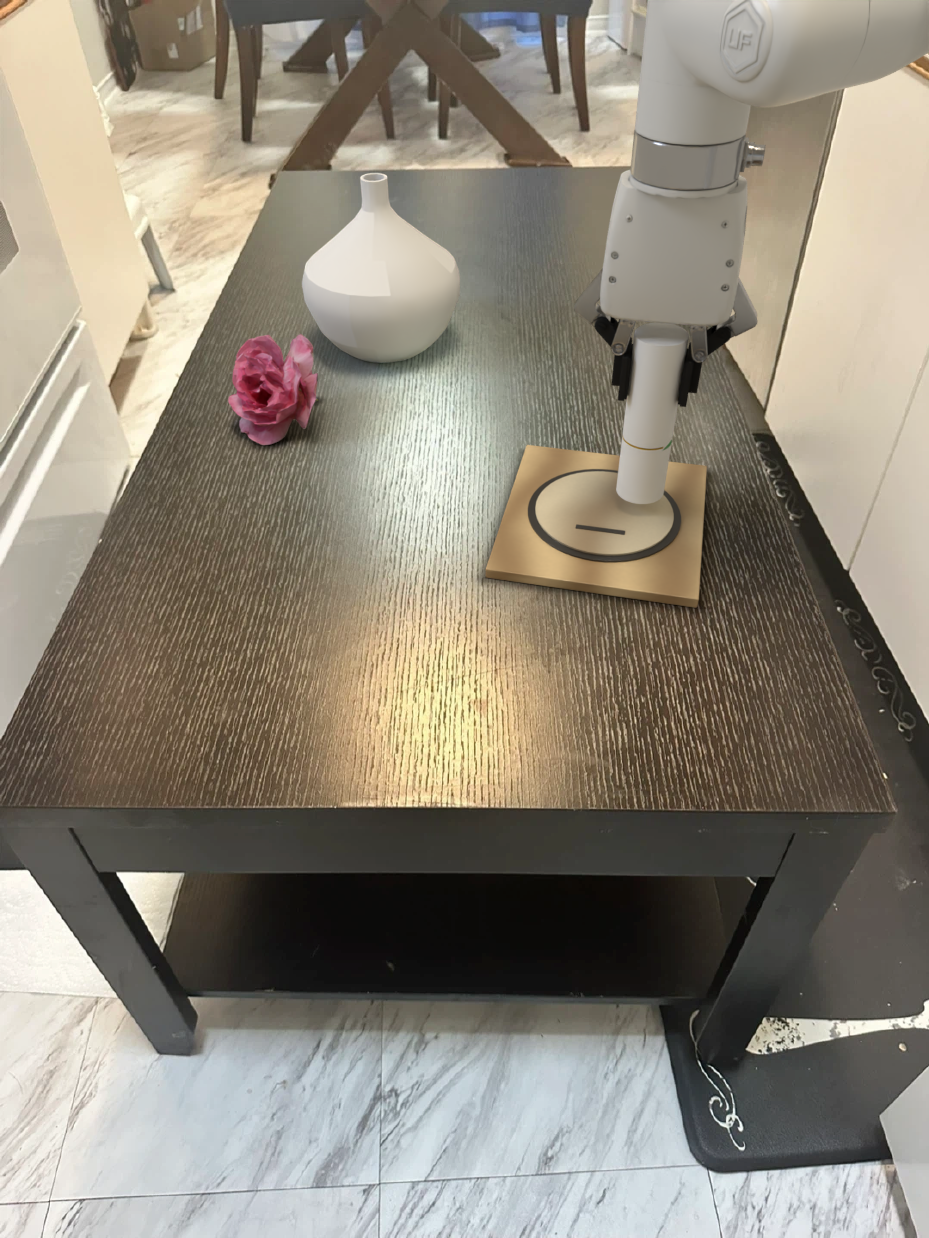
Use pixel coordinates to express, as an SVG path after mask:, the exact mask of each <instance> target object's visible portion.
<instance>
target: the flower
mask: <svg viewBox="0 0 929 1238" xmlns="http://www.w3.org/2000/svg"><path fill="white" fill-rule="evenodd" d="M289 348H290V349H289V351H288V352H287V354H286V356H285V359H284V354H283V351H282V348H281V347H280V346H279V344H278V343H277V342H276V341H275V340H274V338H273V337H272V336H271V335H270V334H265V335H259V336H256V337H251V338H248V339H246V341H244V343H243V344H242V346H241V347H239V349H238V351H237V352H236V355H235V357H236V358H235V360H234V366H233V370H232V384H233V386H234V389H235V390H236V393H233V394H231V395H229V396H228V399H227V401H228V402H227V403H228V404H229V406H230V407H231V409H232V411H233V412H235V415H237V416H239V417H240V420H239V424H238V426H239V429H240V433H245V434H246V435H247V437H248V439H250V440H251V441H253V442H255V443H257V444H259V445H260V446H269V445H272V444H275V443H277V442H280V441H282V440H283V439H284V438H285V437H286V435H287V433H288V431H289V428H290V426H291V424H292V422H293V421H296V422H297V424H298V425H299V426H300V427H301V428H302V429H304V430H305V429H307V427H308V426H309V421H310V417H311V414H312V413H311V412H312V410H313V407H314V404H315V402H316V401H319V399H318V398H317V390H318V389H317V388H318V382H319V381H318V380H319V373H318V372H316V373H313V368H314V364H315V363H314V362H315V358H314V356H315V355H314V346H313V344H312V342H311V341H310V340H309V339H308V338H307V337H306V336H305V335H303V334H302V333H299V334H297V335H296V337H295V338H292V340H291V342H290V345H289Z"/></svg>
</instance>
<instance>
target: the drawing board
mask: <svg viewBox="0 0 929 1238" xmlns="http://www.w3.org/2000/svg"><path fill="white" fill-rule="evenodd" d="M619 461H620V455H619V454H608V453H602V452H601V453H600V452H594V451H593V452H592V451H583V450H575V449H567V448H559V447H558V448H557V447H550V446H549V447H548V446H542V445H541V446H540V445H532V444H526V446H525V449H524V450H523V454H522V458H521V460H520V463H519V467H518V469H517V470H518V471H517V472H516V476H515V478H514V481H513V484H512V488H511V491H510V494H509V497H508V500H507V503H506V506H505V509H504V511H503V515H502V518H501V521H500V524H499V527H498V530H497V533H496V535H495V540H494V543H493V545H492V548H491V552H490V555H489V558H488V561H487V564H486V567H485V578H486V579H494V580H501V581H507V582H514V583H520V584H521V583H522V584H529V585H536V586H541V587H549V588H556V589H561V590H563V589H564V590H570V591H575V592H576V591H577V592H583V593H592V594H599V595H603V596H611V597H619V598H624V599H625V598H626V599H631V600H639V601H645V602H653V603H660V604H668V605H672V606H673V605H675V606H681V607H688V608H695V609H696V608H697V607H698V604H699V600H700V587H701V568H702V553H703V552H702V551H703V537H704V523H705V522H704V520H705V505H706V504H705V503H706V490H707V489H706V487H707V472H708V465H703V464H694V463H687V462H677V461H670V460H669V463H668V469H667V475H666V481H665V488H664V494H663V496H662V498H661V499H659V500H658V501H656V502H654V503H650V504H635V503H631V502H628V501H626V500H624V499H622V498H621V497H620V496H619V495H618V493H617V491H616V487H617V478H618V469H619Z"/></svg>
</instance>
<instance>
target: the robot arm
mask: <svg viewBox="0 0 929 1238" xmlns="http://www.w3.org/2000/svg"><path fill="white" fill-rule="evenodd" d="M646 2H647V3H646V11H645V12H646V14H645V23H644V33H643V44H642V53H641V61H640V62H641V63H640V71H639V83H638V90H637V91H638V93H637V102H636V111H635V113H636V114H635V120H634V121H635V122H634V130H633V139H632V150H631V159H630V169H628V170H625V171H623V172H621V173H620V176H619V180H618V183H617V187H616V189H615V194H614V198H613V203H612V206H611V212H610V216H609V217H610V219H609V223H608V229H607V236H606V242H605V248H604V256H603V257H604V258H603V264H602V268H601V270H600V271H599V272H598V273H597V274H596V275H595V277H594V278H593V279H592V281H591V282H590V283H589V284H588V285H587V286H586V287H585V289H584V290H583V291H582V293H581V294H580V295H579V296H578V297H577V299H576V300H575V303H574V306H573V311H574V313H575V314H576V315H578V317H580V318H581V319H582V320H584V321H585V322H586V323H587V324H589V325H590V326H592V327H594V329H595V331H596V333H597V334H599V336H600V337H601V338H602V339H603V340H604V342H606V344H607V345H608V347H610V351H611V353H612V354H613V365H612V366H613V367H612V374H611V383H610V384H611V386H613V387H618V395H617V401H619V402H624V401H626V400H627V395H628V386H629V378H630V369H631V361H632V349H633V337H632V334H633V331H634V328H635V326H636V324H637V322H642V323H666V324H674V325H678V326H680V325H681V326H689V337H690V342H688V346H687V351H686V356H685V360H684V366H683V372H682V379H681V385H680V391H679V397H678V406H679V407H680V408H687V403H688V398H689V394H698V390H699V389H698V388H699V383H700V379H701V372H702V366H703V362H705V361H706V360H707V359H708V357H709V356H710V355H712V353H714V352H715V351H716V350H718V349H719V348H721V347H722V346H724V345H725V344H726V343H728V342H729V341H730V339H732V338H734V337H735V338H736V337H738V336H740V335H742V334H744V333H746V332H747V331H750V330H751V329H752V330H753V328H755V327H756V326H757V325H758V321H759V318H758V312H757V310H756V308H755V306H754V304H753V302H752V300H751V298H750V296H749V294H748V292H747V290H746V288H745V285H744V284H743V283H742V280H741V278H740V273H741V265H742V259H743V251H744V243H745V236H746V228H747V227H746V226H747V224H746V223H747V215H748V200H749V199H748V196H749V195H748V193H749V192H748V180H747V178H746V177H745V176H743V175H741V174H740V173H744V172H745V169H751V167H763V164H764V159H765V154H766V144H756V142H754V141H750V137H746V134H747V130H748V125H749V119H750V113H751V108H752V107H754V108H776V107H781V106H787V105H790V104H795V103H797V102H802V101H805V100H810V99H812V98H817V97H819V96H823V95H825V94H829V93H833V92H837V91H840V90H844V89H849V88H853V87H857V86H861V85H865V84H869V83H873V82H875V81H878V80H881V79H883V78H885V77H888V76H891V75H892V74H894V73H896V72H898V71H900V70H902V69H903V68H905V67H907V66H908V65H911V64H912V63H914V62H916V61H917V60H919V59H921V58H922V57H925V56H926V55H927V54H929V0H647V1H646ZM733 312H734V314H732V313H733Z"/></svg>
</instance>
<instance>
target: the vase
mask: <svg viewBox="0 0 929 1238" xmlns="http://www.w3.org/2000/svg"><path fill="white" fill-rule="evenodd" d="M359 181H360V182H359V183H360V192H361V207H360V209H359V210H358V212H357V214H356V215H355V217H354V218H353V219H352V220H350V221H349V222H348V224H346V225H345V226H344V227H343V228H342V229H341V230H340V231H338V232H337V233H336V235H334V236H333V238H331V239H330V240H329V241H328V242H326V243H325V244H324V245H323V246H322V247H321V248H319V249H318V250H317V251H315V253H314V254H312V255H311V256H310V257H309V259H308V260H307V261H306V262H305V265H304V270H303V273H302V279H301V287H302V293H303V294H302V295H303V301H304V303H305V305H306V308H307V309H308V311H309V313H310V315H311V317H312V318H313V320H314V322H315V323H316V325H317V327H318V329H319V330H320V333H322V335H323V336H325V337H326V338H327V339H328V340H329V341H330V343H332V344H333V345H334V346H335V347H336V348H338V349H339V350H340V351H342V352H344V353H346V354H347V355H349V356H351V357H353V358H356V359H357V360H360V361H365V362H368V363H378V364H379V363H380V364H382V363H383V364H384V363H385V364H387V363H397V362H402V361H406V360H409V359H412V358H414V357H416V356H418V355H419V354H421V353H423V352H424V351H426V350H428V348H430V347H431V346H432V345H433V344H434V343H436V342H437V341H438V339H439V338H440V337H441V335H443V333H444V332H445V331H446V329H447V328H448V326H449V323H450V321H451V319H452V317H453V315H454V311H455V309H456V307H457V304H458V302H459V299H460V297H461V275H460V270H459V267H458V264H457V262H456V258H455V257H454V256H453V254H451V252H450V251H449V250H448V249H446V248H445V247H443V246H442V245H440V244H439V243H438V242H436V241H434V240H433V239H431V238H430V237H428V236H427V235H426V234H424V233H423V232H421V231H420V230H418V229H417V228H416V227H414V226H413V225H412V224H410V223H409V222H408V221H406V220H405V219H404V218H403V217H401V216H400V215H398V213H396V211H395V209H393V207H392V206H391V203H390V197H389V182H388V176H387V174H384V173H381V172H370V173H364V174H362V175H361V176H360V177H359Z"/></svg>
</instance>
